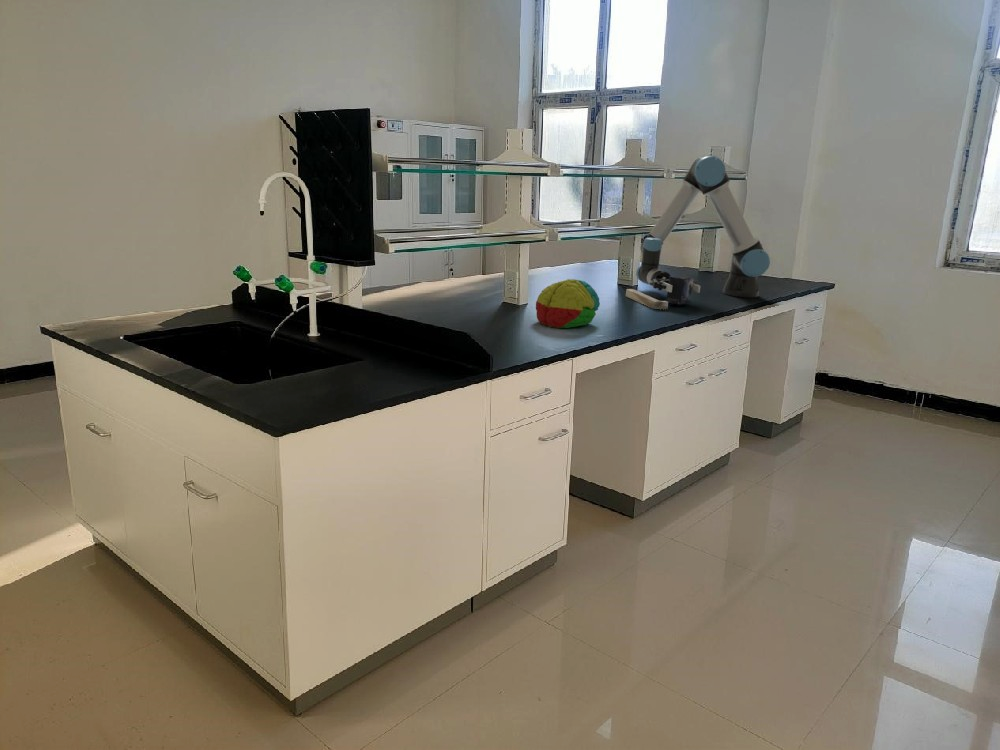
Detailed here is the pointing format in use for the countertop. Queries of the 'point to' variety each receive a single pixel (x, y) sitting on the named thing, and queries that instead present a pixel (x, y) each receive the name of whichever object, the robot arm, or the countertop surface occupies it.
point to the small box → (680, 289)
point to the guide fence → (646, 299)
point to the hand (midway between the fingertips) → (685, 289)
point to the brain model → (567, 304)
